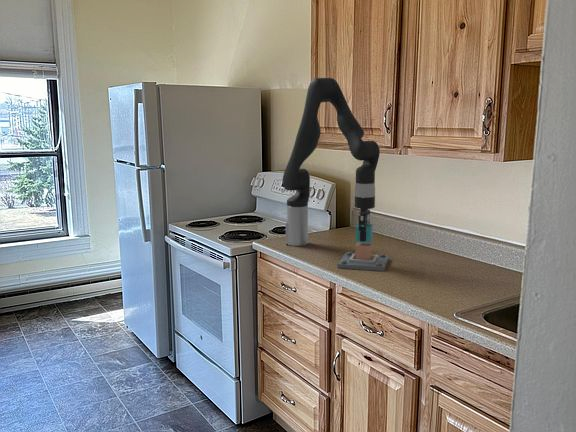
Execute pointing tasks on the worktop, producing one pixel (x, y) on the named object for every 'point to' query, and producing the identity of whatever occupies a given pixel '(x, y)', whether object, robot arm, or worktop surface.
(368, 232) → the teal block
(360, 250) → the terracotta block
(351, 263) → the plate
